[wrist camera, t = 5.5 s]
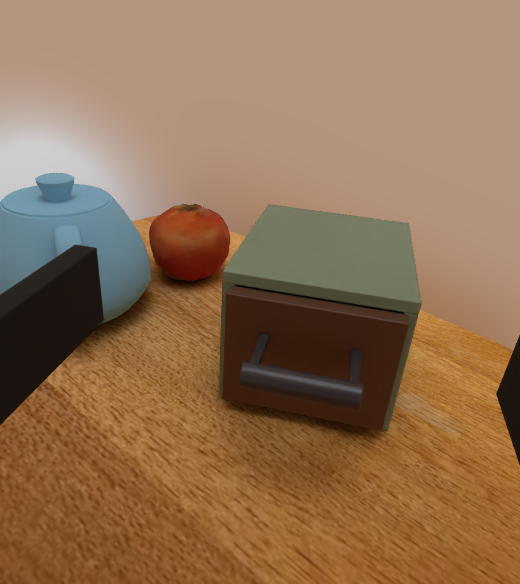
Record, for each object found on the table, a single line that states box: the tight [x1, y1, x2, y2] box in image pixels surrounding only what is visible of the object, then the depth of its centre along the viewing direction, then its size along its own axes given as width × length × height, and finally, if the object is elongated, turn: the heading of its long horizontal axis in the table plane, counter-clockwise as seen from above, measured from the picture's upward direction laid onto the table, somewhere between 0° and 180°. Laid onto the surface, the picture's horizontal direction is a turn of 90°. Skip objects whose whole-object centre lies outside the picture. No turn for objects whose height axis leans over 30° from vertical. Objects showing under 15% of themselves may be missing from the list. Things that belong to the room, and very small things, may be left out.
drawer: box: [222, 286, 409, 431], centre depth 36 cm, size 19×12×9 cm, turn 167°
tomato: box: [149, 204, 230, 281], centre depth 53 cm, size 9×9×8 cm
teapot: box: [0, 173, 151, 324], centre depth 43 cm, size 20×20×13 cm
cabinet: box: [219, 204, 421, 430], centre depth 39 cm, size 15×13×11 cm
